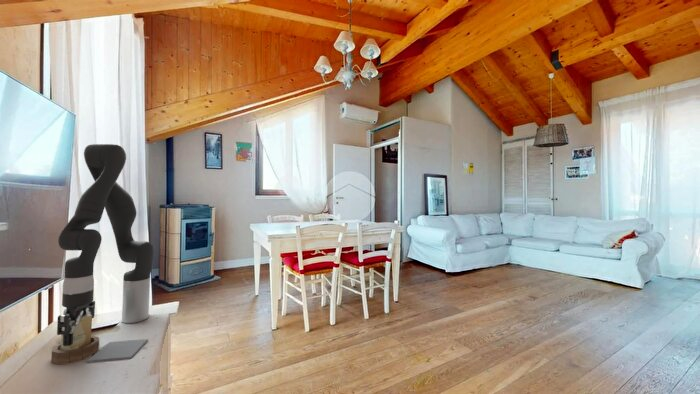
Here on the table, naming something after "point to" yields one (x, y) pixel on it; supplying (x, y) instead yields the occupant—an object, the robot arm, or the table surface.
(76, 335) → the skincare box
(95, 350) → the holder ring
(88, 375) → the table surface
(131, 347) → the mat
